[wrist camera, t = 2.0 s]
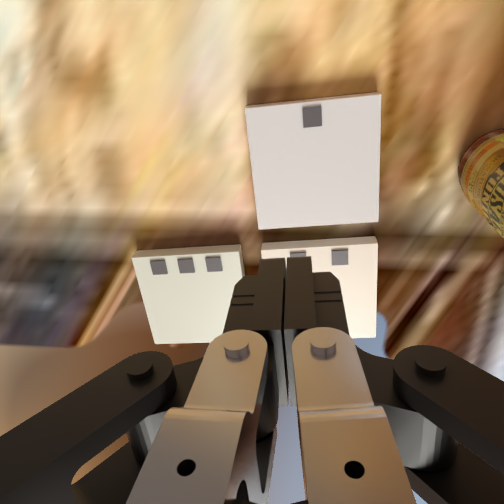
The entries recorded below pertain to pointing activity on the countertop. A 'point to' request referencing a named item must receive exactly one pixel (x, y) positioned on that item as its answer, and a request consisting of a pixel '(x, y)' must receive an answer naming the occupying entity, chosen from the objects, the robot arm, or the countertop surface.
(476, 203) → the sauce bottle
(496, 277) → the countertop surface
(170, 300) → the tile three
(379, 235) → the countertop surface
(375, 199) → the tile one
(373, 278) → the tile two
